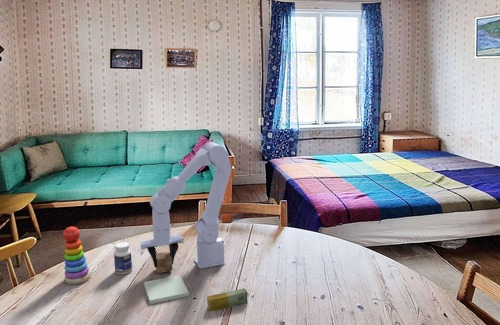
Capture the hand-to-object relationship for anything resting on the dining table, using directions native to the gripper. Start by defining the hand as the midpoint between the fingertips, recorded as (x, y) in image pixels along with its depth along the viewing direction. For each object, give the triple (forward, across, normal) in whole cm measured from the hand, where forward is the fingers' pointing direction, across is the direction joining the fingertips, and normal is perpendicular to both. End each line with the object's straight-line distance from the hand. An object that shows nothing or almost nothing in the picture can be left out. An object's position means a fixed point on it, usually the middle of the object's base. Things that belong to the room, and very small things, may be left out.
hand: (163, 264), depth 145 cm
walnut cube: (+2, 0, 0) cm, 2 cm away
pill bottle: (+2, +13, -5) cm, 14 cm away
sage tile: (+2, +2, +14) cm, 14 cm away
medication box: (+3, -13, +30) cm, 33 cm away
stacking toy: (+2, +28, -5) cm, 29 cm away
